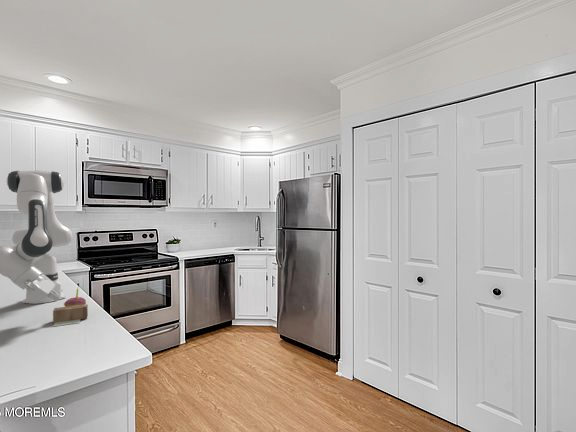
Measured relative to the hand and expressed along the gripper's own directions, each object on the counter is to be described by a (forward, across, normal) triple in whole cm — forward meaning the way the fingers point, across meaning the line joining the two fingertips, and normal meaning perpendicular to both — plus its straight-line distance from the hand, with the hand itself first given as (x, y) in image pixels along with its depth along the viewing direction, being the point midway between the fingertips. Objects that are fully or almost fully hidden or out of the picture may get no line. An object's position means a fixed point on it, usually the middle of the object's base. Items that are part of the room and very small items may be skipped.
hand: (58, 299), depth 139 cm
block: (+3, 0, +6) cm, 7 cm away
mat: (+9, 0, +4) cm, 10 cm away
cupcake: (+10, +11, +3) cm, 15 cm away
